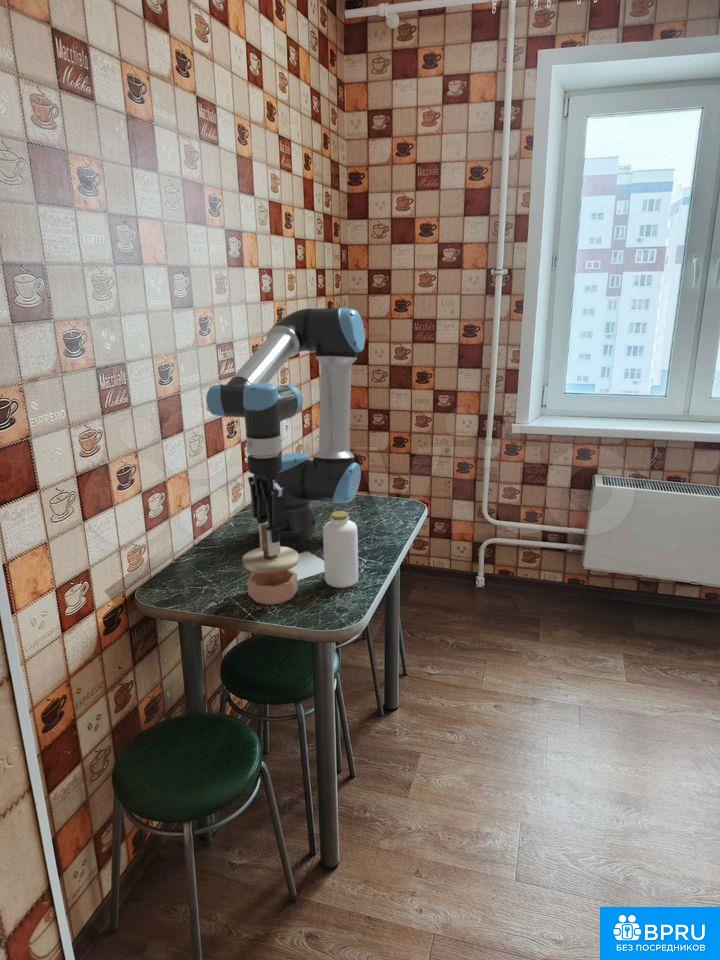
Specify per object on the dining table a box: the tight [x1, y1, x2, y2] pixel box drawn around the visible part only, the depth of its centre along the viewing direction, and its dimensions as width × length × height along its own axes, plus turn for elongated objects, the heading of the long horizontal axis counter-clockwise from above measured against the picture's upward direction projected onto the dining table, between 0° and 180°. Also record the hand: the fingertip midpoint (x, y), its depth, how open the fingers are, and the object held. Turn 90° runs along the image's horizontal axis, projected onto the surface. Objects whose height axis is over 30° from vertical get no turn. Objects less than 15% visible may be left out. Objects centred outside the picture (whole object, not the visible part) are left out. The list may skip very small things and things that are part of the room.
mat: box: [290, 550, 325, 581], centre depth 170 cm, size 14×14×1 cm
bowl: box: [246, 569, 299, 606], centre depth 155 cm, size 11×11×5 cm
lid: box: [242, 523, 299, 573], centre depth 151 cm, size 13×13×9 cm
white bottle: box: [322, 510, 359, 589], centre depth 159 cm, size 8×8×18 cm
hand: (270, 551), depth 152 cm, fingers closed on lid, 3 cm apart
